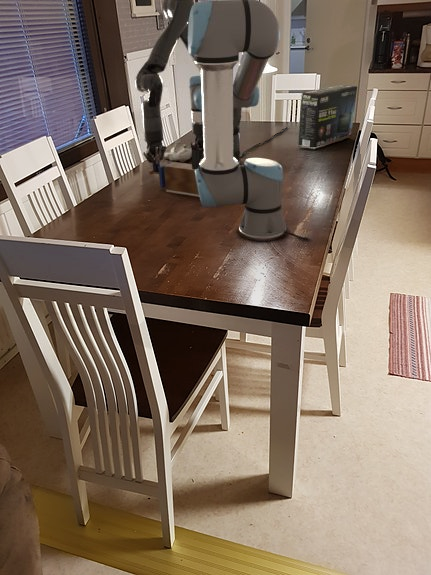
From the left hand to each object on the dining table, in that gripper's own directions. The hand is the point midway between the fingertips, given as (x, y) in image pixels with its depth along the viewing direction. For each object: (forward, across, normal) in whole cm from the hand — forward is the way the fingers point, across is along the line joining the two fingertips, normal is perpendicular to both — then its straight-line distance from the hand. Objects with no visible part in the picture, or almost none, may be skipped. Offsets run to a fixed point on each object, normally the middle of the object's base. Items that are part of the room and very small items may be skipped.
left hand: (156, 172), depth 189 cm
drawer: (+6, 0, +10) cm, 11 cm away
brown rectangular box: (+6, 0, +16) cm, 18 cm away
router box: (+5, -96, +41) cm, 104 cm away
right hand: (+2, 0, +23) cm, 23 cm away
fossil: (+6, -41, -17) cm, 44 cm away
